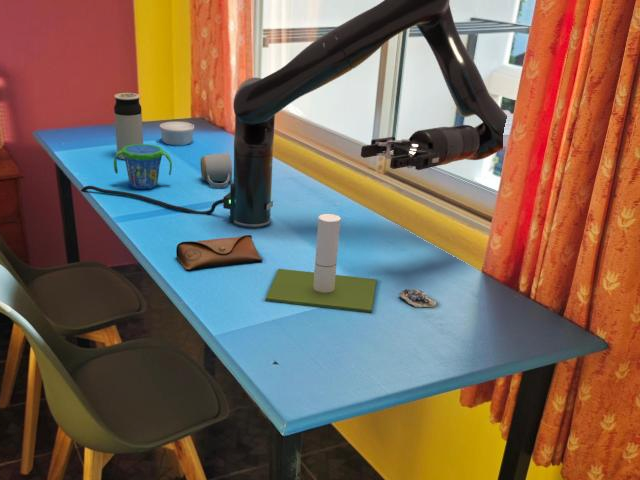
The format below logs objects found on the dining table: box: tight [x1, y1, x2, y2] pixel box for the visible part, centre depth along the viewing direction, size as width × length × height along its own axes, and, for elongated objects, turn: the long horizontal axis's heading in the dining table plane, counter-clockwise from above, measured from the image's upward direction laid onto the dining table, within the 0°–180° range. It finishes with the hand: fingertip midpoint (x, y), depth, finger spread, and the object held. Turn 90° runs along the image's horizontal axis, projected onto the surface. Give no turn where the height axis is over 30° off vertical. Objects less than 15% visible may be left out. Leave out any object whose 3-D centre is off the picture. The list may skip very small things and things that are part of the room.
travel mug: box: [113, 92, 144, 161], centre depth 231 cm, size 8×8×18 cm
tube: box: [313, 213, 341, 293], centre depth 154 cm, size 4×4×15 cm
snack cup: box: [113, 143, 173, 190], centre depth 210 cm, size 16×10×10 cm
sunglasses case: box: [175, 234, 263, 271], centre depth 170 cm, size 18×7×7 cm, turn 112°
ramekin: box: [159, 121, 195, 146], centre depth 250 cm, size 11×11×5 cm
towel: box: [265, 268, 378, 314], centre depth 158 cm, size 21×15×1 cm
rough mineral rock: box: [397, 288, 437, 308], centre depth 155 cm, size 7×8×2 cm
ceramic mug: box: [200, 152, 233, 189], centre depth 215 cm, size 11×8×8 cm
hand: (376, 157), depth 150 cm, fingers open, 8 cm apart
